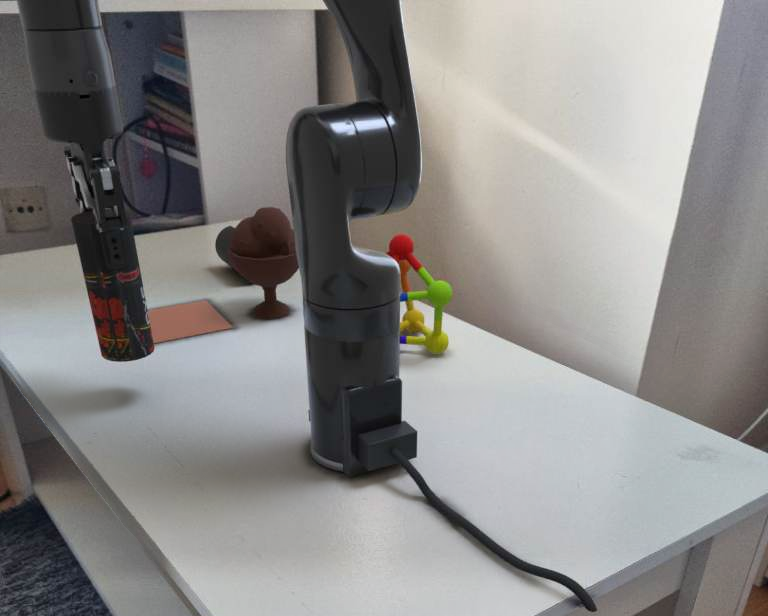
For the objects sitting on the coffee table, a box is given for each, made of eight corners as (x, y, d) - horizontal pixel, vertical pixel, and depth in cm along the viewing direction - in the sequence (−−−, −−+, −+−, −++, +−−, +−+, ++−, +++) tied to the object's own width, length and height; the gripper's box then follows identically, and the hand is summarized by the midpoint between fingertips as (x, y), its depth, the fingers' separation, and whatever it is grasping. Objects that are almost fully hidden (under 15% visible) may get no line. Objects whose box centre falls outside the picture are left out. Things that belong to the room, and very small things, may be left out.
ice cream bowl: (313, 299, 122) (308, 196, 113) (300, 328, 113) (293, 218, 104) (245, 297, 123) (234, 194, 114) (226, 325, 113) (213, 216, 105)
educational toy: (331, 348, 110) (321, 234, 102) (409, 328, 115) (405, 219, 108) (392, 380, 98) (386, 254, 90) (476, 356, 104) (477, 236, 96)
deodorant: (97, 346, 93) (67, 213, 85) (148, 337, 96) (124, 206, 87) (106, 365, 89) (75, 227, 81) (159, 355, 91) (135, 219, 83)
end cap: (217, 269, 133) (212, 228, 129) (257, 262, 136) (253, 221, 132) (241, 287, 126) (236, 244, 122) (282, 279, 129) (279, 237, 125)
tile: (233, 328, 113) (233, 327, 113) (148, 344, 108) (148, 343, 108) (205, 300, 121) (205, 300, 121) (126, 315, 117) (126, 314, 117)
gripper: (21, 78, 80) (60, 247, 90) (47, 95, 70) (89, 284, 80) (97, 73, 83) (127, 237, 93) (133, 88, 73) (163, 272, 83)
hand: (109, 258), depth 86 cm, fingers closed on deodorant, 6 cm apart
